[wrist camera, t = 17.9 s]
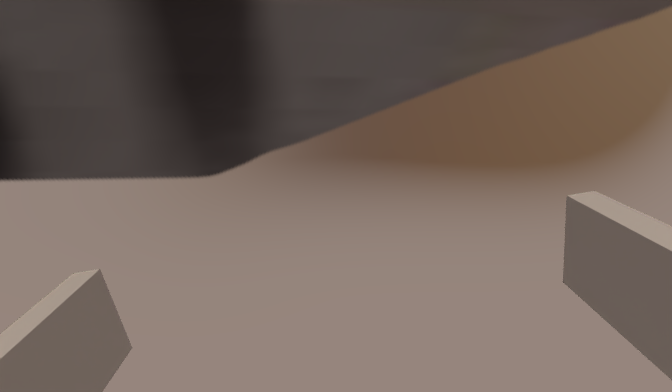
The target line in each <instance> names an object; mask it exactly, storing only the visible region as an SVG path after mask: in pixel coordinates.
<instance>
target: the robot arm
mask: <svg viewBox="0 0 672 392" xmlns="http://www.w3.org/2000/svg"><path fill="white" fill-rule="evenodd" d="M563 283H565V284H566V285H567V286H568V287H569V288H570V289H571V290H572V291H573V292H575V293H576V294H577V295H578V296H579V297H580V298H581V299H582V300H583V301H585V302H586V303H587V304H588V305H589V306H590V307H591V308H592V309H593V310H595V311H596V312H597V313H598V314H599V315H600V316H601V317H602V318H603V319H605V320H606V321H607V322H608V323H609V324H610V325H611V326H612V327H613V328H615V329H616V330H617V331H618V332H619V333H620V334H621V335H622V336H623V337H624V338H626V339H627V340H628V341H629V342H630V343H631V344H632V345H633V346H634V347H636V348H637V349H638V350H639V351H640V352H641V353H642V354H643V355H645V356H646V357H647V358H648V359H649V360H650V361H651V362H652V363H653V364H655V365H656V366H657V367H658V368H659V369H660V370H661V371H662V372H663V373H665V374H666V375H667V376H668V377H669V378H670V379H671V380H672V226H670V225H667V224H665V223H663V222H661V221H659V220H657V219H655V218H652V217H650V216H648V215H646V214H643V213H641V212H639V211H637V210H635V209H633V208H631V207H628V206H626V205H624V204H622V203H620V202H617V201H615V200H613V199H611V198H609V197H607V196H604V195H602V194H600V193H598V192H596V191H592V192H585V193H579V194H573V195H567V200H566V224H565V249H564V272H563ZM131 349H132V346H131V344H130V341H129V339H128V337H127V334H126V332H125V329H124V327H123V324H122V322H121V319H120V317H119V315H118V312H117V310H116V307H115V305H114V302H113V300H112V298H111V295H110V293H109V290H108V288H107V285H106V283H105V280H104V278H103V275H102V273H101V270H100V269H97V270H91V271H84V272H78V273H73V274H72V275H71V276H70V277H68V278H67V279H66V280H65V281H63V282H62V283H61V284H60V285H59V286H57V287H56V288H55V289H54V290H53V291H51V292H50V293H49V294H48V295H46V296H45V297H44V298H43V299H42V300H40V301H39V302H38V303H37V304H36V305H34V306H33V307H32V308H31V309H30V310H28V311H27V312H26V313H25V314H23V315H22V316H21V317H20V318H19V319H17V320H16V321H15V322H14V323H13V324H11V325H10V326H9V327H8V328H6V329H5V330H4V331H3V332H2V333H0V392H102V391H103V390H104V388H105V387H106V386H107V384H108V383H109V381H110V380H111V378H112V377H113V375H114V374H115V372H116V371H117V369H118V368H119V366H120V365H121V363H122V362H123V361H124V359H125V358H126V356H127V355H128V353H129V352H130V350H131Z"/></svg>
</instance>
